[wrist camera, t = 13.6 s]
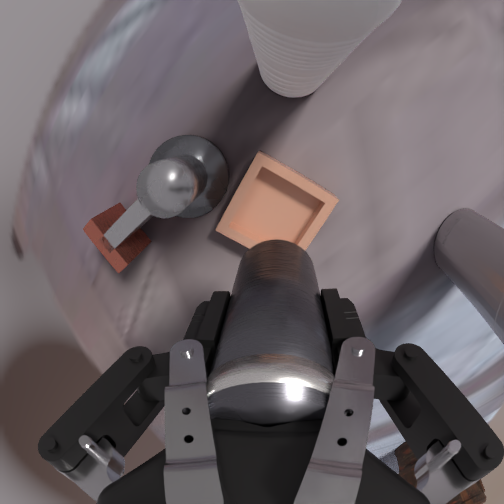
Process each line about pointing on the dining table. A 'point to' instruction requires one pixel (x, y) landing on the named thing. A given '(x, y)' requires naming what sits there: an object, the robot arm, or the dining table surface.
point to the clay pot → (467, 500)
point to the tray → (276, 205)
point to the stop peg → (273, 342)
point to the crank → (147, 207)
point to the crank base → (212, 164)
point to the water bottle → (308, 38)
